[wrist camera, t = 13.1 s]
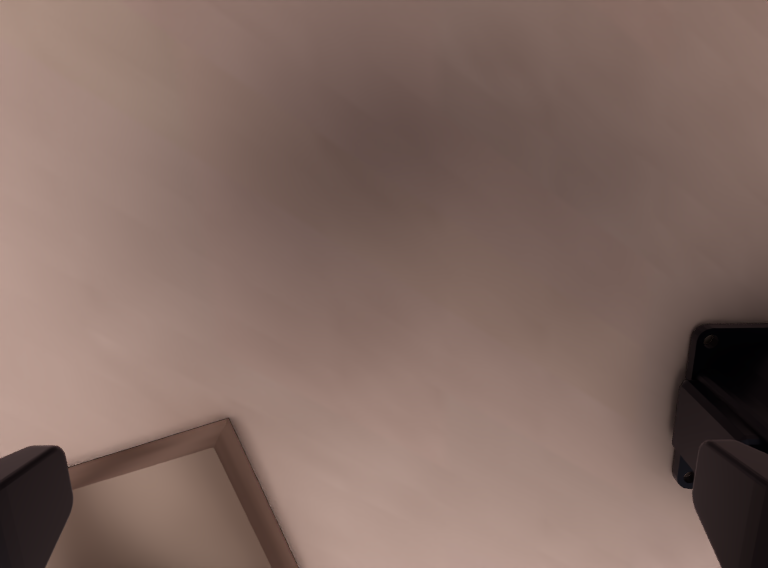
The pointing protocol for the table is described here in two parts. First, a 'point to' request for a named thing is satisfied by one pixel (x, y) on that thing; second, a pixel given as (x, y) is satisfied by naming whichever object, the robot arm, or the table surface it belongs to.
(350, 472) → the table surface
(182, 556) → the walnut plinth
